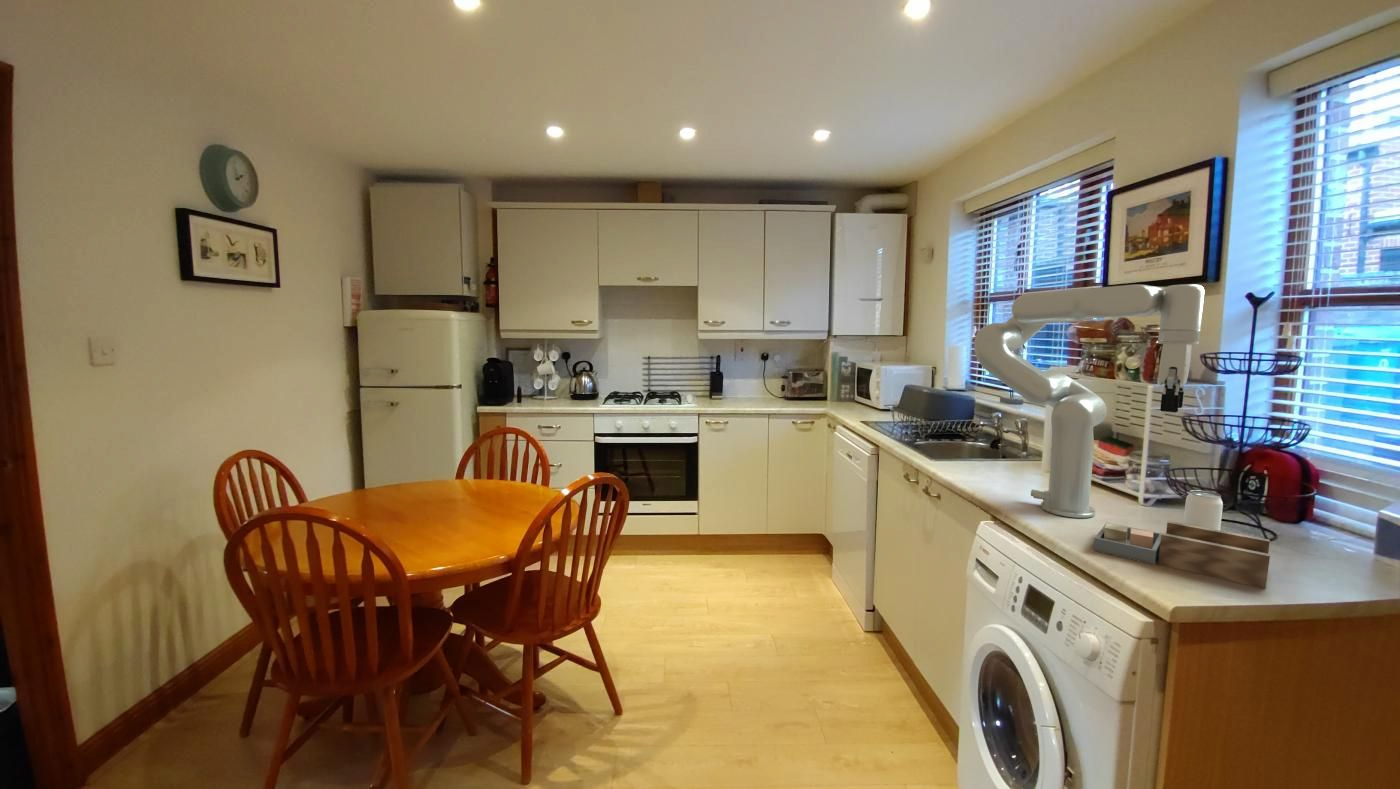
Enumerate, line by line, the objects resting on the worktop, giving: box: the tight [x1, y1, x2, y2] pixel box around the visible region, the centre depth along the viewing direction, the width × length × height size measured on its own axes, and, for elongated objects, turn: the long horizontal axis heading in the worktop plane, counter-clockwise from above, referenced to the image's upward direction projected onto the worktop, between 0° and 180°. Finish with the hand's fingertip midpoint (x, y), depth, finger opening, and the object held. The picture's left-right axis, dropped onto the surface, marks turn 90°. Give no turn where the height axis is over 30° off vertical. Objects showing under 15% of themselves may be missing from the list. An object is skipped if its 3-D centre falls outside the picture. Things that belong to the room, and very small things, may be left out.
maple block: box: [1104, 522, 1129, 544], centre depth 134 cm, size 4×4×4 cm
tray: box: [1093, 522, 1163, 565], centre depth 132 cm, size 11×14×3 cm
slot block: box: [1157, 520, 1271, 589], centre depth 122 cm, size 16×12×6 cm
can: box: [1182, 489, 1224, 531], centre depth 135 cm, size 6×6×12 cm
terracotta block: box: [1130, 527, 1154, 549], centre depth 130 cm, size 4×4×4 cm
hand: (1171, 409), depth 140 cm, fingers open, 9 cm apart
